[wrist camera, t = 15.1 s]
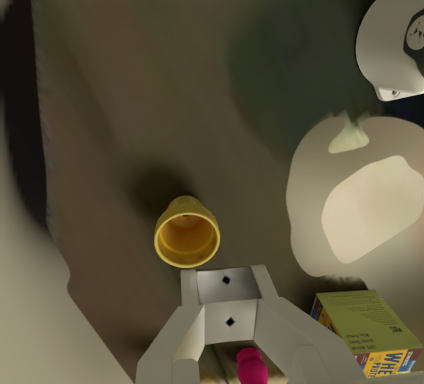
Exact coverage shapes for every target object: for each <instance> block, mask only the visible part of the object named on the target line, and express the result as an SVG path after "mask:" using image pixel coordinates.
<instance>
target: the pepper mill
mask: <svg viewBox="0 0 424 384" xmlns="http://www.w3.org/2000/svg"><path fill="white" fill-rule="evenodd" d="M236 359H237V364H238V366H239V368H238V377H239V380H240V382H241V384H267V381H268V371H267V367H266V364H265V363H264V362H263V361H262V357H261V354H260V351H259V350H258V349H257V348H254V347H248V348H244V349H242V350H241V351H239V352H238V354H237V356H236Z"/></svg>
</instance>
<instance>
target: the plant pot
mask: <svg viewBox="0 0 424 384" xmlns="http://www.w3.org/2000/svg"><path fill="white" fill-rule="evenodd" d="M219 243H220V233H219V228H218V225H217V222H216V220H215V218H214V216H213V214H212V213H211V212H210V211H209V210H208V209H206V208H205V207H203V205H202V204H201V202H200V201H199V200H198V199H196V198H194V197H191V196H180V197H178V198H176V199H174V200H173V201H172V202H171V203H170V204H169V206H168V208H167V210H166V211H165V212H164V213H163V214H162V215H161V216H160V218H159V220H158V222H157V224H156V228H155V235H154V245H155V249H156V251H157V253H158V255H159V256H160V257H161V258H162V259H163V260H164V261H165V262H167V263H169V264H171V265H173V266H177V267H183V268H188V267H194V266H198V265H201V264H203V263H205V262H206V261H208V260H209V259H210V258H211V257H212V256H213V255H214V254H215V252H216V251H217V249H218V246H219Z"/></svg>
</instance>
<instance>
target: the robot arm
mask: <svg viewBox="0 0 424 384" xmlns="http://www.w3.org/2000/svg"><path fill="white" fill-rule="evenodd" d="M356 58H357V63H358V66H359V68H360V70H361V72H362V74H363V75H364V76H365V78H366V79H367V80H369V81H370V82H371V83H372V84H373V86H374V88H375V91H376V94H377V97H378V98H379V99H380V100H381V101H390V100H395V99H399V98H404V97H408V96H413V95H418V94H423V93H424V0H376V1H375V2H374V3H373V4H372V5H371V7H370V8H369V10H368V11H367V13H366V14H365V16H364V18H363V20H362V23H361V25H360V28H359V31H358V35H357V40H356ZM392 91H394V93H393V94H392ZM181 290H182V306H179V307H178V308H177V309H176V310H175V312H174V313H173V314H172V316H171V317H170V319H169V320H168V321H167V323H166V324H165V326H164V327H163V328H162V330H161V331H160V333H159V334H158V335H157V337H156V338H155V339H154V341H153V342H152V344H151V345H150V346H149V348H148V349H147V351H146V352H145V353H144V355H143V356H142V358H141V359H140V360H139V362H138V365H137V374H136V383H135V384H200V380H199V370H198V359H199V357H200V355H201V353H202V351H203V348H204V345H206V344H213V343H220V342H228V341H239V340H252V339H254V341H255V342H256V344H257V345H258V346H259V347H260V348H261V349H262V350H263V351H264V352H265V353H266V354H267V356H268V357H269V358H270V359H271V360H272V361H273V362H274V363H275V364H276V365H277V366H278V368H279V369H280V370H281V371H282V372H283V373H284V374H285V375H286V376H287V377H288V381H287V384H424V371H418V372H410V373H403V374H395V375H387V376H380V377H372V378H367V377H366V376H365V374H364V372H363V371H362V369H361V367H360V366H359V364H358V362H357V361H356V359H355V357H354V356H353V354H352V352H351V351H350V349H349V347H348V346H347V344H346V342H345V341H344V340H343V339H342V338H340V337H339V336H337V335H336V334H335V333H333V332H332V331H330V330H329V329H328V328H326V327H325V326H323V325H322V324H320V323H319V322H318V321H316V320H315V319H313V318H312V317H310V316H309V315H308V314H306V313H305V312H303V311H302V310H300V309H299V308H298V307H296V306H295V305H293V304H292V303H291V302H289V301H288V300H286V299H285V298H283V297H278V294H277V292H276V290H275V288H274V285H273V283H272V281H271V279H270V277H269V274H268V272H267V270H266V268H265V266H264V265H263V264H262V265H251V266H243V267H231V268H216V269H197V270H182V271H181Z"/></svg>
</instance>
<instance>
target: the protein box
mask: <svg viewBox="0 0 424 384" xmlns="http://www.w3.org/2000/svg"><path fill="white" fill-rule="evenodd" d="M310 317H312V318H313V319H315V320H316V321H318V322H319V323H320V324H322V325H323V326H325V327H326V328H328V329H329V330H330V331H332V332H333V333H335V334H336V335H337V336H339V337H340V338H342V339H343V340H344V341H345V342H346V344H347V346H348V347H349V349H350V351H351V352H352V354H353V356H354V357H355V359H356V361H357V362H358V364H359V366H360V367H361V369H362V371H363V372H364V374H365V376H366V377H367V378H372V377H380V376H387V375H395V374H403V373H410V371H411V369H412V367H413V366H414V364H415V362H416V360H417V358H418V357H419V355H420V353H421V351H422V350H423V346H422V345H421V344H420V342H419V341H418V340H417V339H416V338H415V337H414V335H413V334H412V333H411V332H410V331H409V330H408V328H407V327H406V326H405V325H404V324H403V322H402V321H401V320H400V319H399V318H398V317H397V316H396V315H395V313H394V312H393V311H392V310H391V308H390V307H389V306H388V305H387V304H386V303H385V301H384V300H383V299H382V298H381V297H380V295H379V294H378V293H377V292H376V291H375V290H361V291H344V292H329V293H316V294H315V298H314V302H313V305H312V309H311V313H310Z"/></svg>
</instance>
